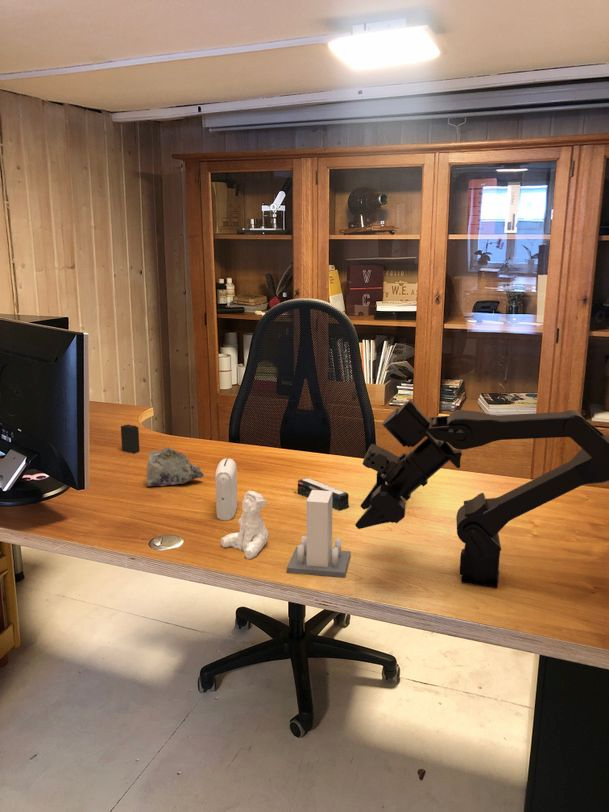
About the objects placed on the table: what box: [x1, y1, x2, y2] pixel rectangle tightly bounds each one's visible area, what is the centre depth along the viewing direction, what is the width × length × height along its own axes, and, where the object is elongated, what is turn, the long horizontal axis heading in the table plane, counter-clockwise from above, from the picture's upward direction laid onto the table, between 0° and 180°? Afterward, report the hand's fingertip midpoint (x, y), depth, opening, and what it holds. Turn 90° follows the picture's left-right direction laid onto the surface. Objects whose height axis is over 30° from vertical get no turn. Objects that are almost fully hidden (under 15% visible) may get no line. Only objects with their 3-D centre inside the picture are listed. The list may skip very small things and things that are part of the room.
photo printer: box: [214, 457, 238, 521], centre depth 153 cm, size 10×4×12 cm, turn 0°
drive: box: [305, 490, 333, 567], centre depth 128 cm, size 4×6×13 cm, turn 169°
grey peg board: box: [286, 535, 352, 579], centre depth 129 cm, size 11×9×4 cm
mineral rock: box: [146, 446, 205, 487], centre depth 171 cm, size 13×11×10 cm
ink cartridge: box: [120, 424, 141, 454], centre depth 199 cm, size 5×2×8 cm, turn 61°
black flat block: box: [297, 477, 350, 512], centre depth 163 cm, size 14×25×4 cm, turn 41°
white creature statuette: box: [220, 490, 270, 560], centre depth 136 cm, size 10×9×12 cm
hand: (359, 516), depth 126 cm, fingers open, 9 cm apart
